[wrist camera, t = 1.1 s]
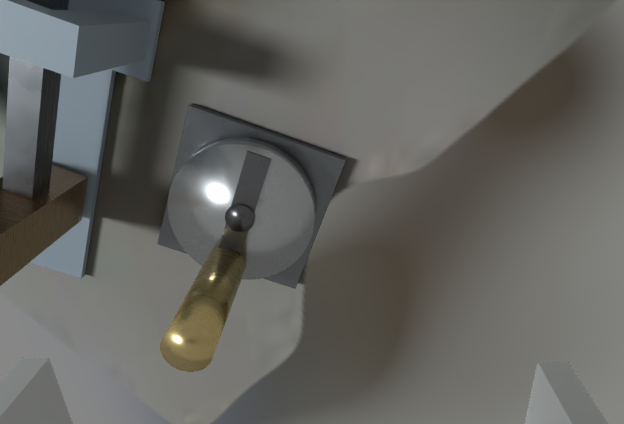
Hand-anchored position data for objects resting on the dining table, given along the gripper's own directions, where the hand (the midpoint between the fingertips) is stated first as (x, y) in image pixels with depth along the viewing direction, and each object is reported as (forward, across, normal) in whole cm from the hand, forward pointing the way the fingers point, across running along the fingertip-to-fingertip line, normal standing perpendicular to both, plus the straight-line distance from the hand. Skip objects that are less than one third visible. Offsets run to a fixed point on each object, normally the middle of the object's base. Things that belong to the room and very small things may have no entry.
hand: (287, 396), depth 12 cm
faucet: (+20, -5, -3) cm, 21 cm away
